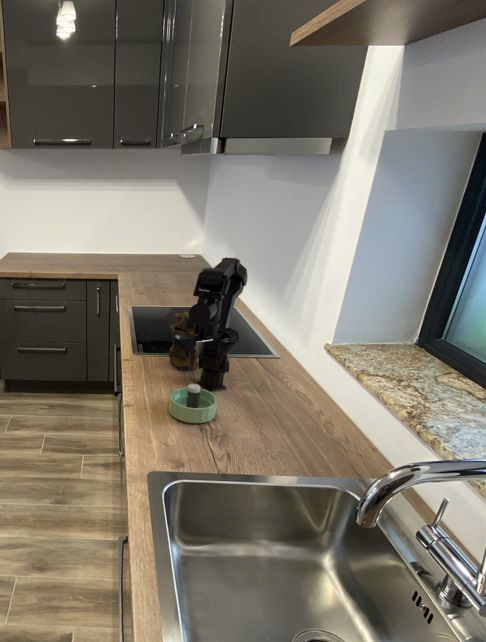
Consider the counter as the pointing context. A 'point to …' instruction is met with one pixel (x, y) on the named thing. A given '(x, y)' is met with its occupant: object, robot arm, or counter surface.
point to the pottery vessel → (177, 353)
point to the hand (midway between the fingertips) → (204, 365)
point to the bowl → (192, 414)
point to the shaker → (193, 396)
